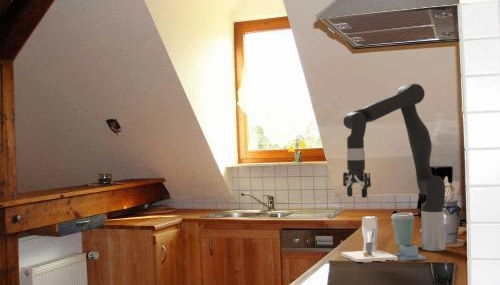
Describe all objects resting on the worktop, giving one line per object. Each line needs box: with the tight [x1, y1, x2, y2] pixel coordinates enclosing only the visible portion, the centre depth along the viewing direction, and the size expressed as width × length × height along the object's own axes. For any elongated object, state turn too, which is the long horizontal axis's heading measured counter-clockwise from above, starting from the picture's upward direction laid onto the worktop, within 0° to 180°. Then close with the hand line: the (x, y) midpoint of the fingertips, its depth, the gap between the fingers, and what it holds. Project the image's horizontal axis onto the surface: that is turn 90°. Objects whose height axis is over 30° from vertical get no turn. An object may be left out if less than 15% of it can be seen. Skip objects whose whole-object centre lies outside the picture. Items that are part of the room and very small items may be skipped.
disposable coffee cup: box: [390, 212, 415, 247], centre depth 268 cm, size 11×11×15 cm
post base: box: [340, 242, 399, 263], centre depth 237 cm, size 18×16×6 cm
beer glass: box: [361, 215, 379, 251], centre depth 254 cm, size 7×7×15 cm
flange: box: [391, 243, 427, 262], centre depth 237 cm, size 10×10×5 cm
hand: (357, 196), depth 244 cm, fingers open, 8 cm apart
